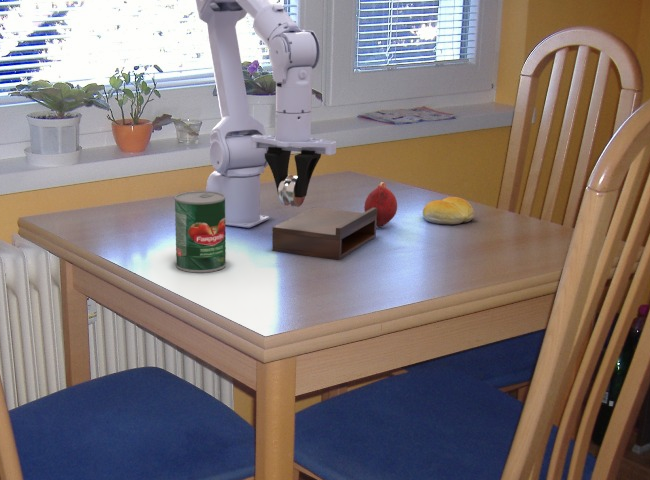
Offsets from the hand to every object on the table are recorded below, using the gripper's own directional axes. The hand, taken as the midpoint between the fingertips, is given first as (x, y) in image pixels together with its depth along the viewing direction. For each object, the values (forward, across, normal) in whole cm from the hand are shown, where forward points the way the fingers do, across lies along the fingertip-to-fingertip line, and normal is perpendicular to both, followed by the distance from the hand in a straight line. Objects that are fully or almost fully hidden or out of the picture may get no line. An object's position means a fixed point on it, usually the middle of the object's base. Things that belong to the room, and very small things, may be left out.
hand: (291, 195), depth 170 cm
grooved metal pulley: (+2, 0, 0) cm, 2 cm away
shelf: (+8, +5, +3) cm, 10 cm away
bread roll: (+9, +18, +29) cm, 35 cm away
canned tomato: (+9, -7, -18) cm, 21 cm away
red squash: (+9, +9, +18) cm, 22 cm away
